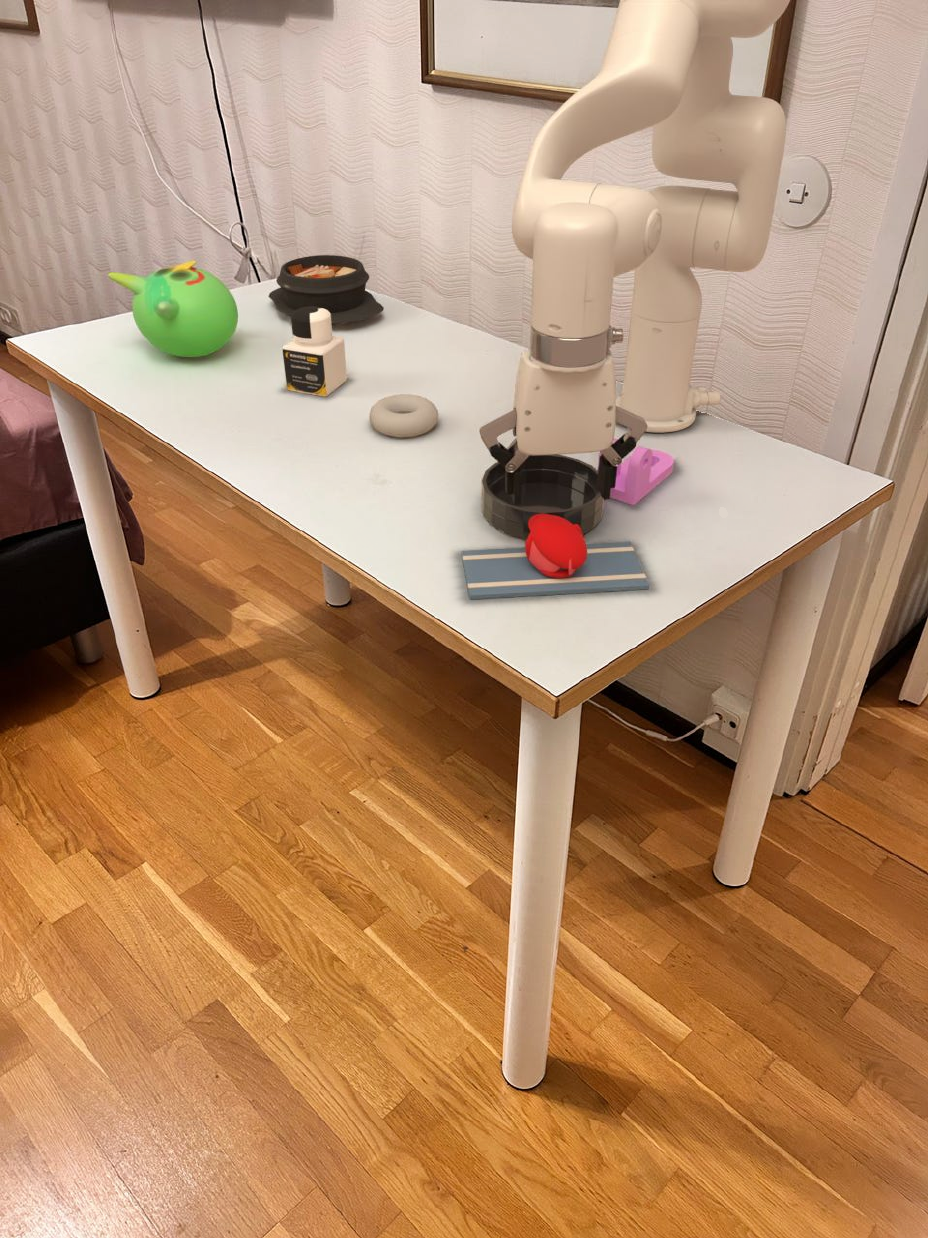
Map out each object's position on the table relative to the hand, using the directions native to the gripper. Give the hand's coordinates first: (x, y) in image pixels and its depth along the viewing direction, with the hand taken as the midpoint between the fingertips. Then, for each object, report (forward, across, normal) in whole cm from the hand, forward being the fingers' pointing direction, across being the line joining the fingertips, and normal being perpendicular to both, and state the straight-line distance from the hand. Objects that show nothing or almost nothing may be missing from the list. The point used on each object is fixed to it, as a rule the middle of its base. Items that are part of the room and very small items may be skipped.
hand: (559, 495), depth 101 cm
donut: (+10, +15, -39) cm, 43 cm away
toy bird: (+11, +50, -71) cm, 88 cm away
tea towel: (+10, 0, +1) cm, 10 cm away
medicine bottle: (+11, +28, -55) cm, 63 cm away
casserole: (+11, +28, -89) cm, 94 cm away
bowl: (+10, -1, -13) cm, 16 cm away
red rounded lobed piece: (+9, 0, +1) cm, 9 cm away
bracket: (+10, -15, -20) cm, 27 cm away
